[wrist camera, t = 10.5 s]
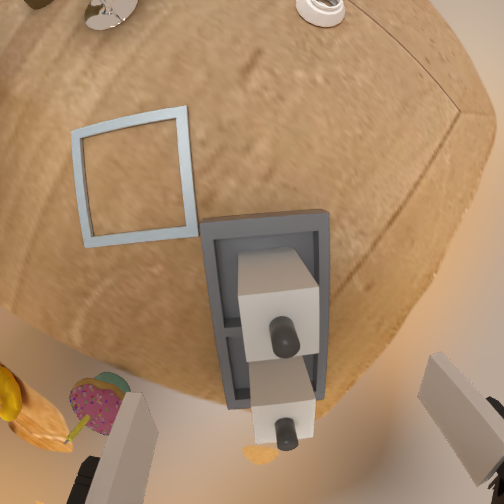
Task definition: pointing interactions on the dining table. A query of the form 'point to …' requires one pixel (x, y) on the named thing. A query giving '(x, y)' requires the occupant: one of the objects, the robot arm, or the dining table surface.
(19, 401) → the duckling
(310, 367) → the two-slot grey rack
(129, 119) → the square frame
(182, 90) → the dining table surface
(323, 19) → the white short tapered ring
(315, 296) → the white block with peg
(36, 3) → the cork
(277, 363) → the white plug
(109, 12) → the wineglass
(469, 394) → the robot arm
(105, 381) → the cupcake
